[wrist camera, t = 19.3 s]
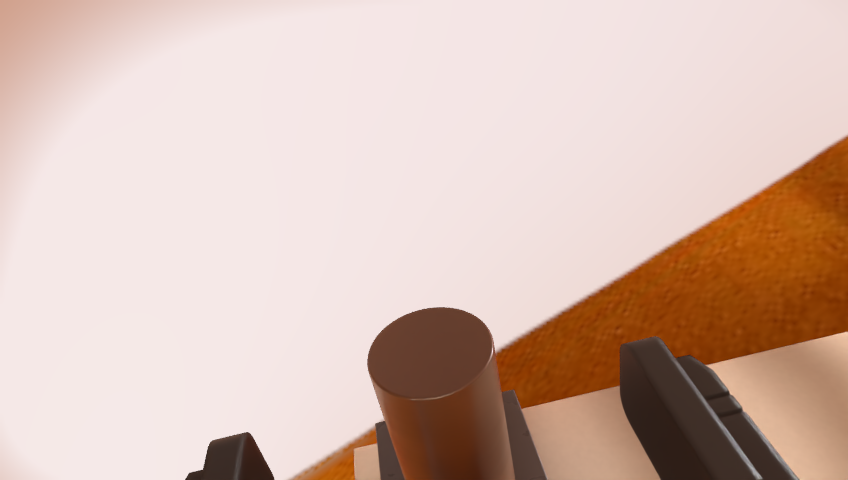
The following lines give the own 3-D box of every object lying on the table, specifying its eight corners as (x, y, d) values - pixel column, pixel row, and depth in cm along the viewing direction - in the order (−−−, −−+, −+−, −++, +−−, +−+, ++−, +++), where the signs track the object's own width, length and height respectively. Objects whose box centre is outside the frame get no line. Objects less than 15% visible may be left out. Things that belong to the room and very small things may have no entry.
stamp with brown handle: (426, 783, 14) (315, 588, 9) (389, 465, 21) (318, 261, 16) (626, 730, 14) (632, 508, 9) (520, 432, 22) (490, 221, 16)
